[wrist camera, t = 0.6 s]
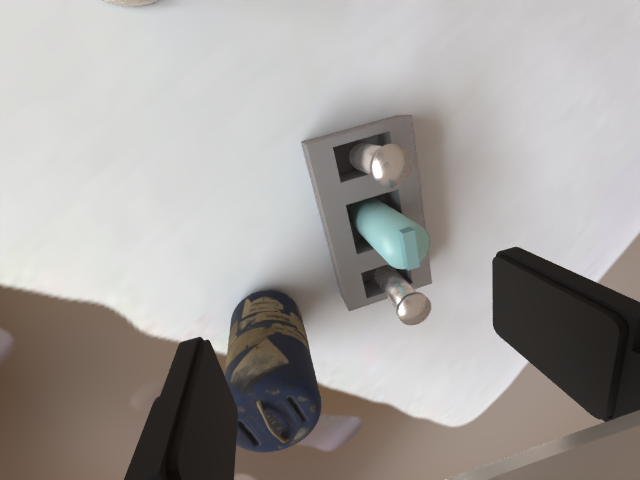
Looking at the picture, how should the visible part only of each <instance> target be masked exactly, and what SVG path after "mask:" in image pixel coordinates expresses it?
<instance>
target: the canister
mask: <svg viewBox="0 0 640 480" xmlns="http://www.w3.org/2000/svg"><path fill="white" fill-rule="evenodd" d="M225 379H226V381H227V383H228V386H229V388H230V391H231V393H232V395H233V398H234V400H235V403H236V405H237V410H238V424H237V438H236V445H237V446H239V447H241V448H243V449H246V450H250V451H254V452H273V451H279V450H282V449H285V448H288V447H290V446H293V445H295V444H296V443H298V442H300V441H301V440H303V439H304V438H305V437H306V436H307V435H308V434H309V433H310V432H311V431H312V430H313V428H314V427H315V426H316V424H317V422H318V419H319V416H320V413H321V397H320V393H319V389H318V384H317V380H316V376H315V371H314V368H313V363H312V359H311V355H310V350H309V345H308V340H307V336H306V332H305V328H304V325H303V321H302V317H301V313H300V310H299V308H298V306H297V305H296V303H295V302H294V301H293V300H292V299H291V298H290V297H288V296H287V295H285V294H283V293H280V292H276V291H260V292H256V293H254V294H251V295H249V296H248V297H246V298H245V299H243V300H242V301H241V302H240V303H239V304H238V306H237V307H236V308H235V310H234V312H233V315H232V319H231V326H230V335H229V343H228V353H227V358H226V368H225Z"/></svg>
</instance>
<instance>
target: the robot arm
mask: <svg viewBox="0 0 640 480" xmlns="http://www.w3.org/2000/svg"><path fill="white" fill-rule="evenodd" d="M103 1H105V2H108V3H112V4H116V5H120V6H131V7H138V6H143V5H149V4H151V3H154V2H156V1H159V0H103ZM492 266H493V327H494V329H495V331H496V333H497V334H498V335H499V336H500V337H501V338H502V339H503V340H505V341H506V342H507V343H508V344H509V345H510V346H512V347H513V348H514V349H515V350H516V351H517V352H519V353H520V354H521V355H522V356H523V357H524V358H526V359H527V360H528V361H529V362H530V363H531V364H533V365H534V366H535V367H536V368H537V369H539V370H540V371H541V372H542V373H543V374H544V375H546V376H547V377H548V378H549V379H550V380H551V381H552V382H554V383H555V384H556V385H557V386H558V387H559V388H561V389H562V390H563V391H564V392H565V393H567V394H568V395H569V396H570V397H571V398H572V399H574V400H575V401H576V402H577V403H578V404H579V405H580V406H582V407H583V408H584V409H585V410H586V411H587V412H589V413H590V414H591V415H592V416H594V417H595V418H598V419H602V420H604V421H605V422H604V423H601V424H599V425H596V426H593V427H590V428H587V429H585V430H582V431H579V432H576V433H573V434H570V435H567V436H564V437H562V438H559V439H556V440H553V441H550V442H547V443H544V444H542V445H539V446H536V447H533V448H530V449H528V450H525V451H522V452H519V453H517V454H514V455H511V456H508V457H505V458H502V459H500V460H497V461H494V462H491V463H488V464H486V465H483V466H480V467H477V468H474V469H472V470H469V471H466V472H464V473H461V474H458V475H455V476H452V477H449V478H447V479H444V480H640V302H638V301H636V300H634V299H631V298H629V297H627V296H625V295H622V294H620V293H618V292H616V291H614V290H612V289H609V288H607V287H605V286H603V285H601V284H598V283H596V282H594V281H592V280H590V279H587V278H585V277H583V276H581V275H579V274H576V273H574V272H572V271H570V270H568V269H565V268H563V267H561V266H559V265H557V264H554V263H552V262H550V261H548V260H545V259H543V258H541V257H539V256H537V255H534V254H532V253H530V252H528V251H526V250H523V249H521V248H519V247H513V248H509V249H506V250H502V251H499V252H498V253H497V254H496V257H495V258H494V259H493V262H492ZM237 424H238V410H237V405H236V403H235V400H234V398H233V395H232V393H231V391H230V388H229V386H228V383H227V381H226V379H225V376H224V374H223V371H222V369H221V367H220V364H219V362H218V360H217V357H216V354H215V352H214V350H213V347H212V345H211V343H210V341H209V340H205V341H204V340H203V339H202V338H201V337H197V338H194V339H190V340H187V341H183V342H181V343H180V344H179V346H178V349H177V351H176V354H175V357H174V360H173V362H172V365H171V368H170V370H169V374H168V376H167V379H166V381H165V384H164V387H163V390H162V392H161V395H160V396H159V397H157V398H156V399H155V401H154V403H153V405H152V408H151V410H150V413H149V416H148V418H147V421H146V423H145V426H144V429H143V431H142V434H141V437H140V439H139V442H138V444H137V447H136V450H135V452H134V455H133V458H132V460H131V463H130V465H129V468H128V470H127V473H126V476H125V478H124V480H234V467H235V453H236V452H235V451H236V438H237Z"/></svg>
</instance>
